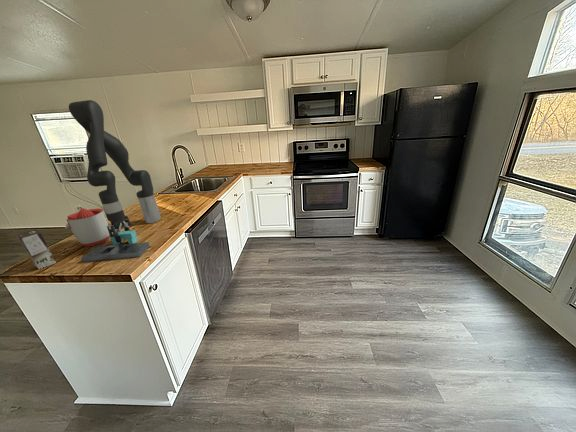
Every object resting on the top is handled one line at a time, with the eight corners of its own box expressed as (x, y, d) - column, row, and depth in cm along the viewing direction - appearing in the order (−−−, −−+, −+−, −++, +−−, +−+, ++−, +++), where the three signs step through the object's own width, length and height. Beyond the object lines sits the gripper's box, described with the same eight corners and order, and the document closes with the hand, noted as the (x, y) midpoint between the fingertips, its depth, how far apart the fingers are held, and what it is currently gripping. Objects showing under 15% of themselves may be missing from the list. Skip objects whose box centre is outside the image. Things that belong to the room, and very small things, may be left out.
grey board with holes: (98, 251, 118) (96, 246, 117) (149, 246, 119) (148, 242, 118) (83, 262, 108) (81, 257, 108) (139, 256, 110) (138, 252, 109)
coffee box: (57, 262, 110) (41, 232, 104) (38, 269, 105) (20, 238, 99) (51, 258, 114) (35, 228, 108) (33, 264, 109) (15, 234, 103)
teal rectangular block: (118, 241, 127) (114, 231, 124) (138, 239, 127) (135, 230, 125) (112, 245, 122) (108, 235, 120) (134, 243, 123) (130, 233, 121)
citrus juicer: (74, 243, 128) (59, 209, 121) (112, 232, 138) (99, 201, 131) (74, 253, 117) (56, 217, 109) (115, 241, 127) (101, 207, 119)
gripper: (114, 206, 124) (124, 233, 130) (96, 216, 111) (108, 245, 117) (129, 205, 124) (138, 232, 130) (112, 214, 111) (123, 244, 117)
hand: (124, 238), depth 124 cm, fingers open, 8 cm apart
